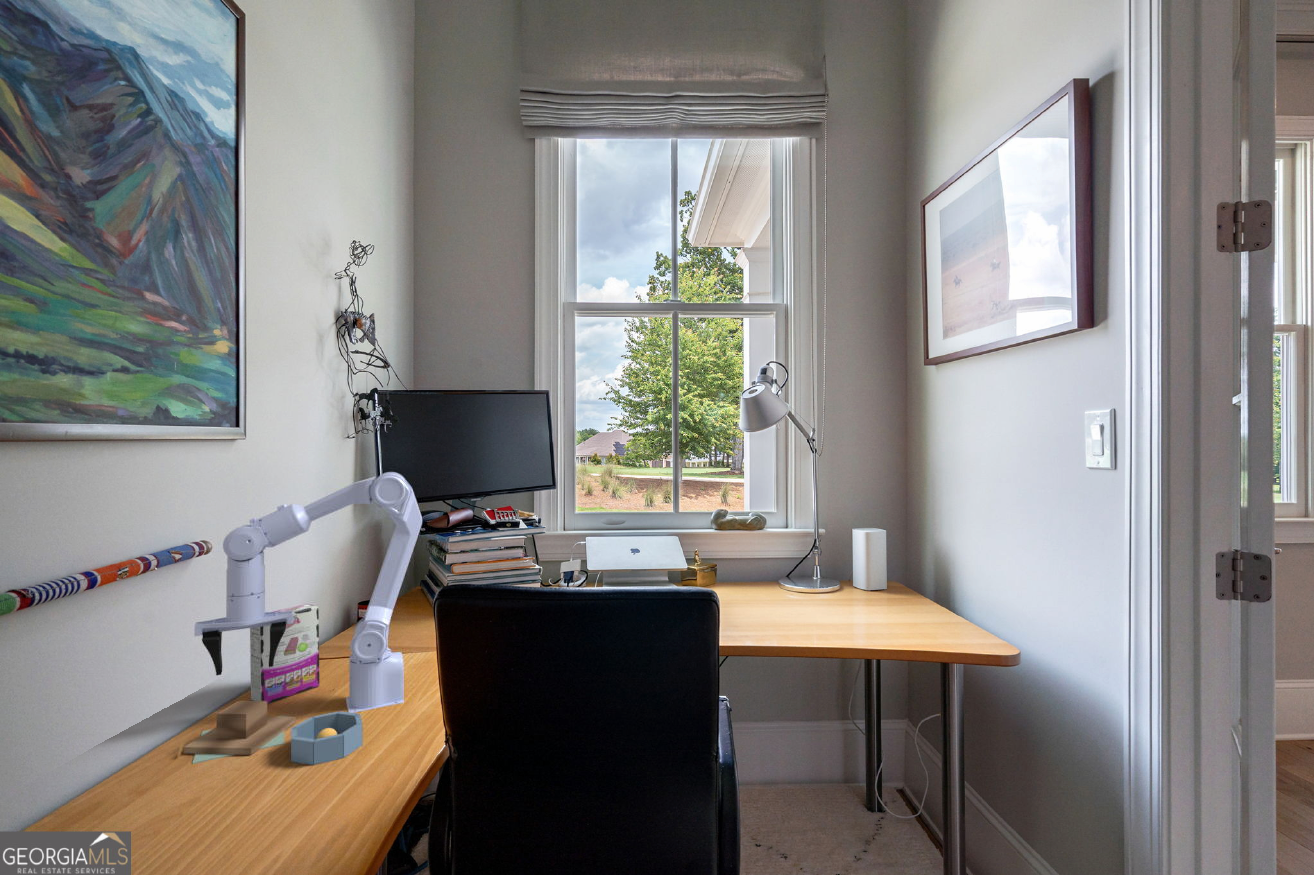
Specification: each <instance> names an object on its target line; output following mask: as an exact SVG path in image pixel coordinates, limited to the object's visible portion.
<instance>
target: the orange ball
mask: <svg viewBox="0 0 1314 875" xmlns="http://www.w3.org/2000/svg"><path fill="white" fill-rule="evenodd" d="M333 735H337V732H336V731H335V730H334V729H332V728H326V729H323V730H322V731H321V732H320V733H319V734H318V736H317V739H319V738H324V737H328V736H333Z"/></svg>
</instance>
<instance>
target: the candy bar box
mask: <svg viewBox="0 0 1314 875" xmlns="http://www.w3.org/2000/svg"><path fill="white" fill-rule="evenodd" d="M283 611H293V623H292V624H286V630H285V632H284V634H283V636H282V638H281V640H280V643H279V645H278V648H277V650H276V654H275V657H274V664H273V667H269V654H270V625H269V626H262V627H254V628H249V645H250V646H249V649H250V651H249V653H250V654H249V655H250V657H249V658H250V660H249V661H250V662H249V663H250V665H249V666H250V701H267V705H268V704H272V703H274V702H277V701H280V700H283V699H286V698H289V697H291V696H295V695H298V694H300V693H303V692H306V691H308V690H312V689H313V688H314V689H315V688H318V687H319V686H320V683H321V682H320V679H321V678H320V626H319V625H320V624H319V623H320V620H319V618H320V616H319V615H320V614H319V613H320V612H319V611H320V610H319V606H317V605H313V604H309V603H305V604H300V605H296V606H291V607H287V608H283V609H278V610H274V611H273V612H283Z"/></svg>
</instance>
